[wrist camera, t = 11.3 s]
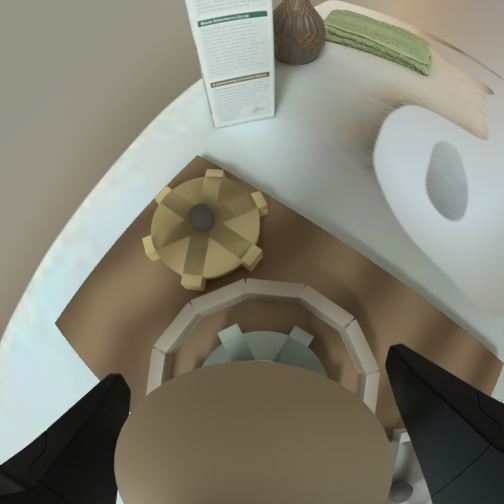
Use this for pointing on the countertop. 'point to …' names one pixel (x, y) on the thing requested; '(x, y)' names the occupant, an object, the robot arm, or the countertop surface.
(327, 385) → the gear
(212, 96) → the syrup box
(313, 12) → the vase
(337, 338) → the gear board
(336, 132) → the countertop surface
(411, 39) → the washcloth
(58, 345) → the countertop surface
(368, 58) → the countertop surface
